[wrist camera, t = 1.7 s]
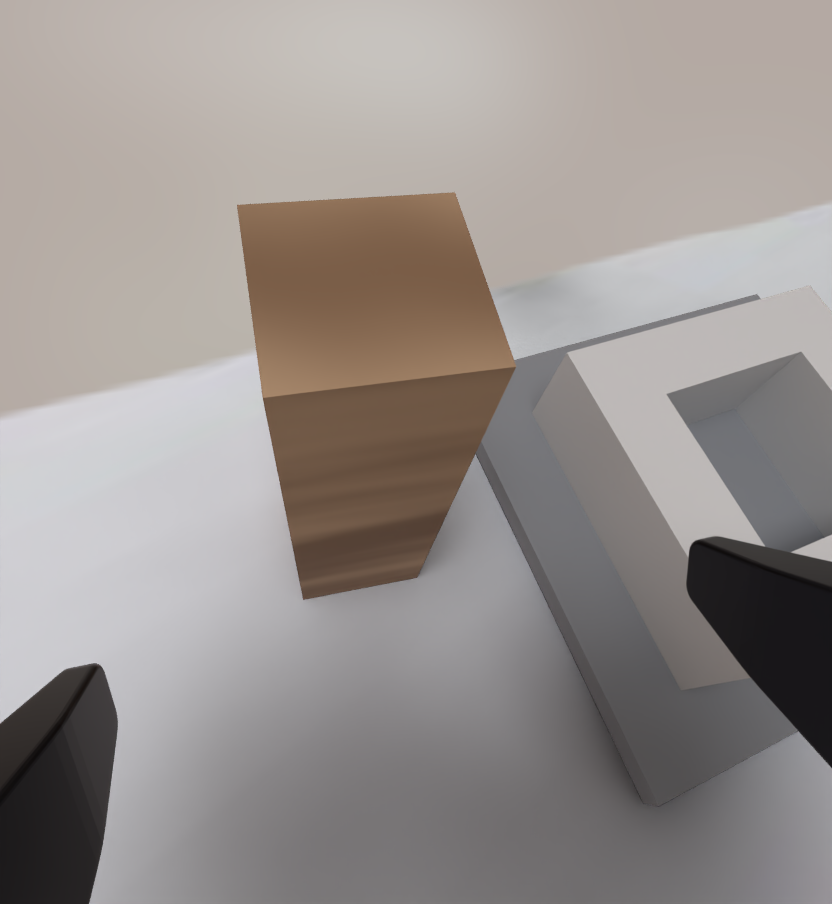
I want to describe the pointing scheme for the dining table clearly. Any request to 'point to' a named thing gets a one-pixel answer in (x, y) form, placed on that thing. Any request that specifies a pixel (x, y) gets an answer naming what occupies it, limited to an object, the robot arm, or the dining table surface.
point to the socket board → (602, 606)
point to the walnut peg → (370, 374)
